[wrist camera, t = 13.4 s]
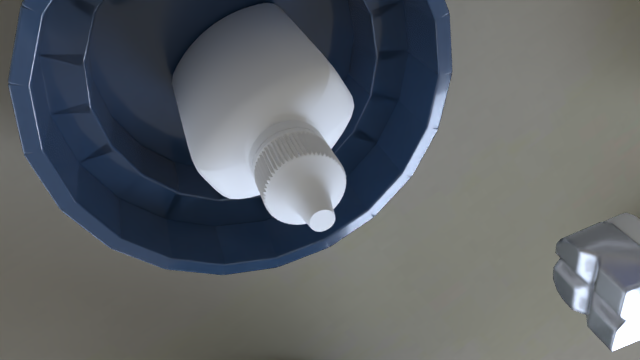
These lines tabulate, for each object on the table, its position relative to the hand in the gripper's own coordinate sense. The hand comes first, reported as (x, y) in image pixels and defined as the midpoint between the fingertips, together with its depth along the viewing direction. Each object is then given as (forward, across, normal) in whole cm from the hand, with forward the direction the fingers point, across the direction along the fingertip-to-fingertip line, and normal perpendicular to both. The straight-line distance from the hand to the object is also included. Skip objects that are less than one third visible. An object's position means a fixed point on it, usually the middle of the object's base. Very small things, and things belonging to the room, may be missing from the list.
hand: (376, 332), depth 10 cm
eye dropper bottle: (+16, 0, 0) cm, 16 cm away
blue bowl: (+16, 0, 0) cm, 16 cm away
